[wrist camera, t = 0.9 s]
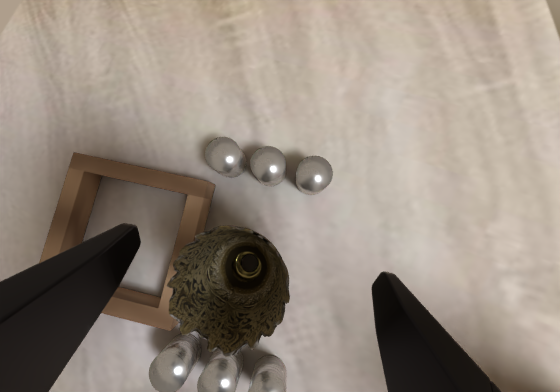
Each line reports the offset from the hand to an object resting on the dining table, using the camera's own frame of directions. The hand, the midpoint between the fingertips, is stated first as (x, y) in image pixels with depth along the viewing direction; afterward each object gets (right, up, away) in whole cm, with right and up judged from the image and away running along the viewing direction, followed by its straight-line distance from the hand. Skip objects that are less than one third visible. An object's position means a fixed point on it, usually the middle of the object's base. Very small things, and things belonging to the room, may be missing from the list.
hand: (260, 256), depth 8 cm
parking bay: (-13, -2, +14) cm, 19 cm away
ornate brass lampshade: (-2, -4, +13) cm, 14 cm away
